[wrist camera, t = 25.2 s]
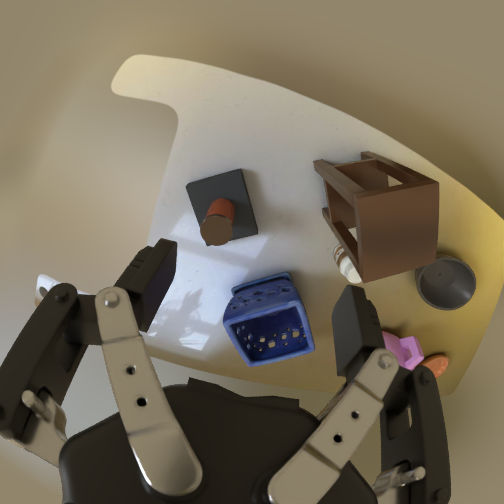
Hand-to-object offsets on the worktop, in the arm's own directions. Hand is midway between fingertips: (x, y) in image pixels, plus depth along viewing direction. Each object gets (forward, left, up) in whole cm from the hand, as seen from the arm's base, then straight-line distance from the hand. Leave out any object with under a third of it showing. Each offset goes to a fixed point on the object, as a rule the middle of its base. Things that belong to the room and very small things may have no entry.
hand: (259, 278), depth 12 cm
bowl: (+32, +35, -33) cm, 58 cm away
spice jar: (+7, -7, -31) cm, 32 cm away
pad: (+7, -7, -33) cm, 34 cm away
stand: (+8, +14, -33) cm, 37 cm away
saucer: (+73, +40, -33) cm, 89 cm away
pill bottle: (+21, +12, -33) cm, 41 cm away
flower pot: (+27, -4, -33) cm, 43 cm away
